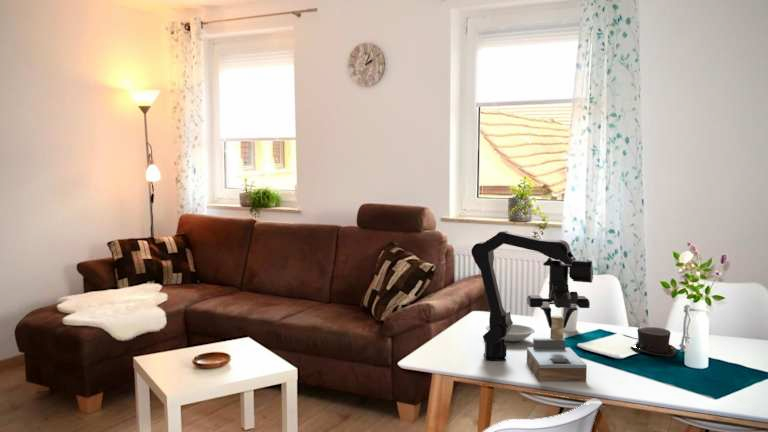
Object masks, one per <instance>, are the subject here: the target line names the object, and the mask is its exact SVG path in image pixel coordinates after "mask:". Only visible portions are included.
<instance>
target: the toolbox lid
mask: <svg viewBox="0 0 768 432" xmlns="http://www.w3.org/2000/svg"><path fill="white" fill-rule="evenodd" d="M532 345H533V346H532V347H530V346H527V347H526V348H527V349H526V352H527V351H528V352H529V354H530V355H531V356H532V358H533V359H534V361H535V362H536V363H537V365H538V366H539V367H540V368H588V366H587V364H586V362H585V361H583V359H582V358H581V357H579V355H578V354H576V352H574V350H573V349H572V348H571V347H568V346H567V347H566V339H565V338H563V340H552V339H550V337H548V338H547V337H546V338H539V337H538V338H533V341H532ZM553 362H567V363H568V364H553Z"/></svg>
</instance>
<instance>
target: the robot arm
mask: <svg viewBox="0 0 768 432" xmlns="http://www.w3.org/2000/svg"><path fill="white" fill-rule="evenodd" d="M502 245H508V246H513V247H517V248H522V249H525V250H529V251H535V252H537V253H540V254H542V255H544V256H546V257H548V258H547V260H546V261H545V262H543V263H542V264H543V266H549V277H548V278H549V281H548V298H547V297H545V298H543V297H542V296H541V295H536V294H535V295H534V294H530V295H528V296H527V297H526V304H527V305H528V306H529V307H530V308H540V309H541V310H542V311H543V313H544V315H545V318H546V321H547V324H548V325H547V326H548V327H549V329H551V325H552V323H551V316H552V308H551V307H550V306H551V305H554V307H555V308H557V309H561V307H564V312H563V317H564V328H565V327H566V324H567V322H568V319H569V317H570V315H571V314H572V312H573V311H575V310H577V308H576V306H577V305H578V306H579V308H578V309H589V308H590V307H591V306H590V304H591V303H590V299H588V298H587V297H586V296H585V295H579V296H578V294H579V293H578V292H577V291H569V290H570V289H569V278H570V279H571V280H572V282H581V283H590V284H591V283H593V280H594V269H593V260H577V259H576V257H575V255H574V254H573V253H572V252H571V247H570V244H569V243H568V242H567V241H565V240H563V239H540V238H536V237H531V236H527V235H523V234H518V233H515V232H514V233H513V232H511V231H510V232H509V231H507V230H501V231H499V232H497V233H496V235H494V236H492V237H491V238H489V239H487V240H486V241H485V240H484V241H480V242H478V243H475V244H474V245H473V247H472V248H471V251H470V252H471V255H472V257H473V260H474V263H475V265H476V266H477V268H478V269H479V271H480V276H481V279H482V283H483V288H484V290H485V291H484V292H485V294H486V300H487V304H488V308H489V325H490V330H489V331H488V330H487V332H486V333H484V334H483V335H482V337H483V338H482V339H483V342H484V353H483V357H484V358H485V360H486V361H506V360H507V359H506V357H507V344H506V341H505V340H504V339H503V338H504V337H505V335H506V334H507V333H509V331H510V330H511V327H512V324H514V323H513V322H514V321H513V320H512V317H511V312H510V311H508V312H506V310H505V309H504V307H503V303H502V299H501V294H500V290H499V287H498V286H499V285H498V282H497V277H496V273H495V269H494V261H495V253H494V251H495V250H497V249H498V248H499V247H501V246H502ZM489 325H488V326H489Z"/></svg>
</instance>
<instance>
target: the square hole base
mask: <svg viewBox="0 0 768 432" xmlns="http://www.w3.org/2000/svg"><path fill="white" fill-rule="evenodd" d="M526 363H527V365H528V366H529V368H530V369H531V371H532V372H533V373H534V375H535V376H536V378H537V379H538V381H539V382H587V368H588V367H587V368H540V367H539V366H538V365H537V363H536V362H535V361H534V359H533V358H532V356H531V355H530V354H529V352H528V351H527V350H526ZM553 364H568V363H567V362H553Z"/></svg>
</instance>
